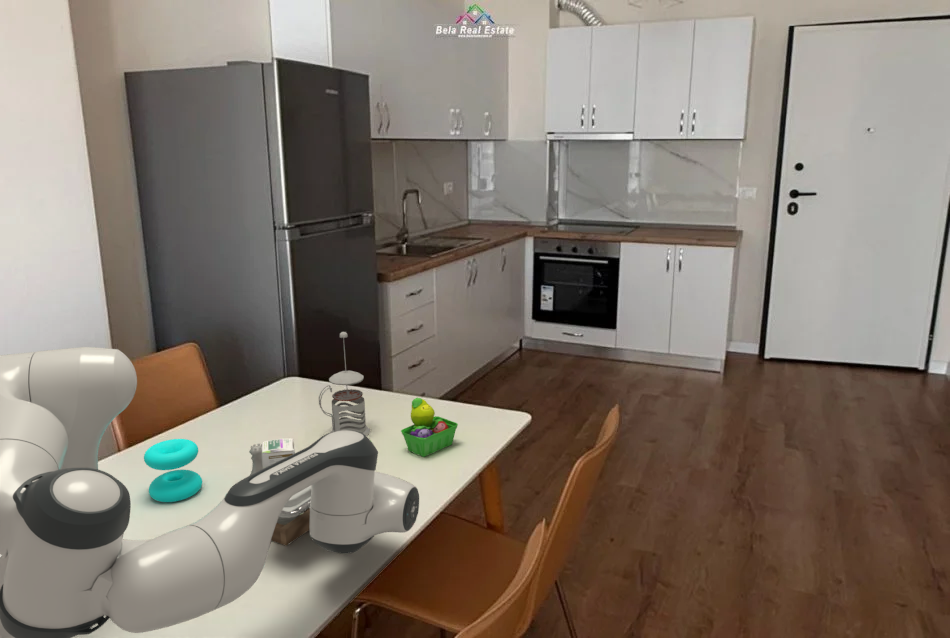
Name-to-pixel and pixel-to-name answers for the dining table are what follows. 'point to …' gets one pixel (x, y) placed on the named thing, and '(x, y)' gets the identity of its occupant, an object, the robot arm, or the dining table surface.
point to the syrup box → (277, 459)
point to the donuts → (177, 481)
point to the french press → (347, 395)
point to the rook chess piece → (256, 458)
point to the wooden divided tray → (291, 529)
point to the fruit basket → (427, 430)
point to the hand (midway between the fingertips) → (276, 472)
